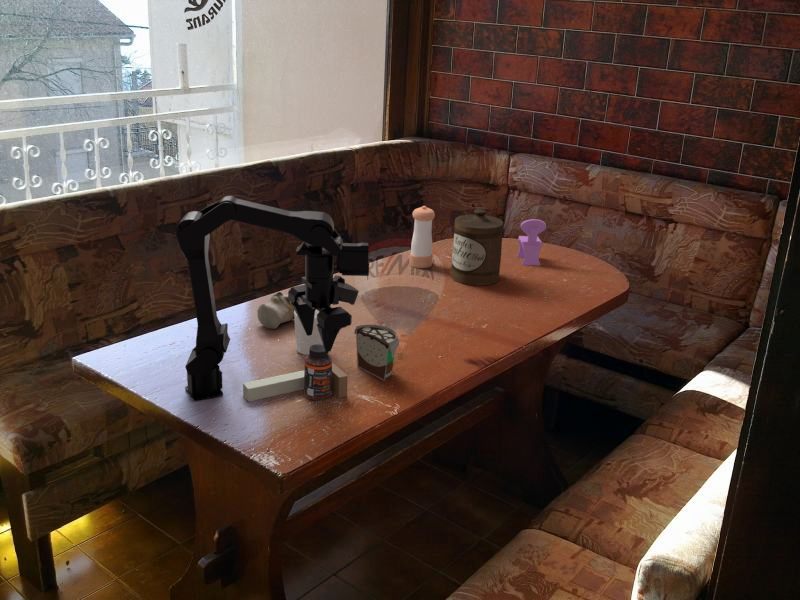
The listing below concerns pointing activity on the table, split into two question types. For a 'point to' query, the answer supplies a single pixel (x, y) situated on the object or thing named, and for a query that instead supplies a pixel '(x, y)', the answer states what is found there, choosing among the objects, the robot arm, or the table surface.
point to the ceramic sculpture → (276, 311)
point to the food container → (376, 349)
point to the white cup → (302, 339)
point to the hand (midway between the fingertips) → (318, 343)
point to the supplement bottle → (317, 373)
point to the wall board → (291, 385)
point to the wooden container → (477, 249)
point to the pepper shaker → (422, 238)
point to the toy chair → (531, 241)
